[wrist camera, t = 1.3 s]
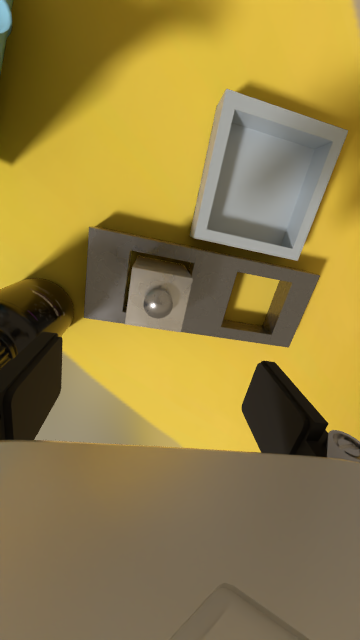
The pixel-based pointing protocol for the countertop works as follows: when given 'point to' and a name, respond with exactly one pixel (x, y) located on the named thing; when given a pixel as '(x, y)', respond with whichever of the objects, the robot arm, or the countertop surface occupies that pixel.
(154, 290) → the beige block with knob
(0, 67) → the teakettle
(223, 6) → the countertop surface
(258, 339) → the rail
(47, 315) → the supplement bottle
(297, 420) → the robot arm
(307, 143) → the parts tray
